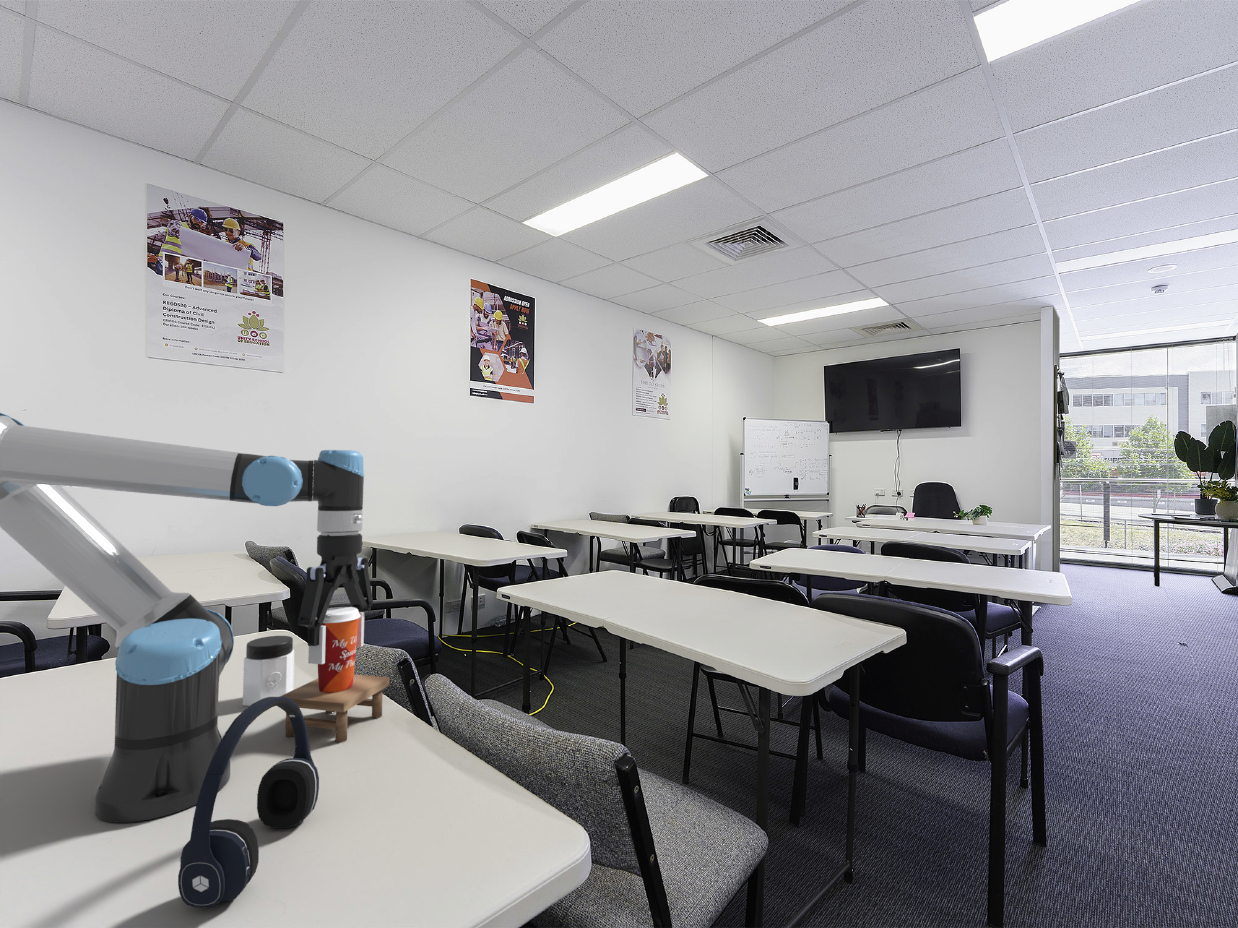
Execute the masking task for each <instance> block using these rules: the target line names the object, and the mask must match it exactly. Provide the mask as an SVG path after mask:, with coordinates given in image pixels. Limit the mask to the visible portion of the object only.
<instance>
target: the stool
mask: <svg viewBox="0 0 1238 928" xmlns="http://www.w3.org/2000/svg"><path fill="white" fill-rule="evenodd" d="M388 686H390V677H389V676H387V677H386V676H378V675H377V676H375V675H363V674H355V673H354V678H353V685H352V687H351V688H349V689H347V690H344V691H340V692H334V693H324V692H321V691H319V682H318V678H316V679H314V680H312V681H310V682H309V681H308V682H307V683H305V684H303V685H301V686H299V687H296V688H293V690H292V691H290V692H288V693H286V694H284V695H282V696H280V697H287V698H290V699H291V700H293V701H294V702H295V703H296V704H297V705H298V706H299V708H300V709H307V710H314V711H316V710H317V711H325V714H327V713H329V714H328V715H330V713H331V714H333V713H332V712H335V720H332V719H323V718H314V717H304V716H303V717H304V720H305V723H306V727H310V728H320V729H327V730H335V738H334V739H335V740H334V741H335V742H336V743H337V744H338V743H339V744H340V743H344V742H346V741H347V740H348V714H349V710H350V709H352V708H353V707H356V706H361V707H371V718H372V719H380V718H382V717H383V692H384V691H383V690H384V689H386V688H387V687H388ZM370 697H371V698H370ZM285 737H286V738H290V737H291V738H292V737H295V736H294V732H293V727H292V724H291V721H290V719H289V716H288V715H287V714H286V713H285Z"/></svg>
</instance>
